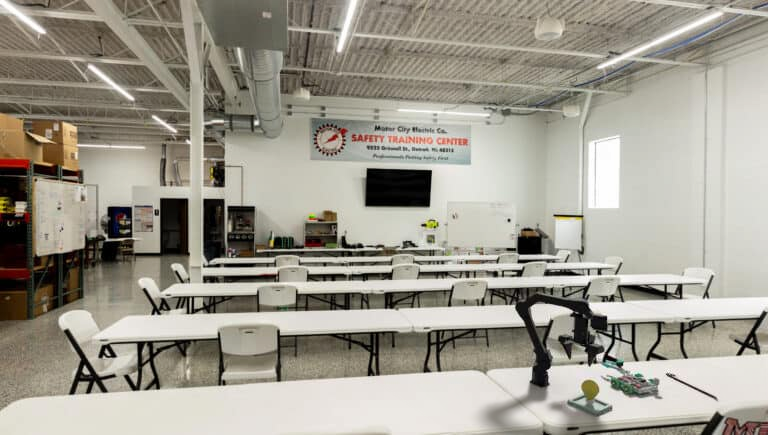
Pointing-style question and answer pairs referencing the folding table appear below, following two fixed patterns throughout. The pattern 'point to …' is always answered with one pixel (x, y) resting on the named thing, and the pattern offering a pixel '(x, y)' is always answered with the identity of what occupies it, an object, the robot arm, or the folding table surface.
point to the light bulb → (590, 391)
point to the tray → (595, 410)
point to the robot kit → (631, 379)
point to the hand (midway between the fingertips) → (579, 362)
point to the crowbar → (691, 386)
